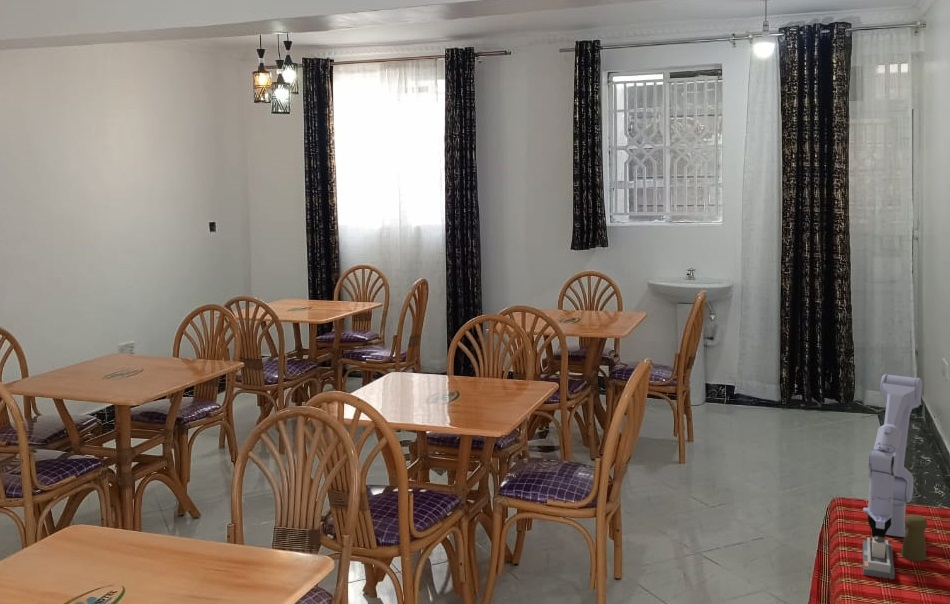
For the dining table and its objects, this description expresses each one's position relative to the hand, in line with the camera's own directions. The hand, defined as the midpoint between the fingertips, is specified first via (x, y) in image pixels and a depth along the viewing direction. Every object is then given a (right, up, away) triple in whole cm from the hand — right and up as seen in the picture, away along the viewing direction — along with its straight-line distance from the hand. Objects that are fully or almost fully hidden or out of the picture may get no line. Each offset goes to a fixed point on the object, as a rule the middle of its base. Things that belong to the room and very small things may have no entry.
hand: (877, 543), depth 227 cm
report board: (-2, -3, -5) cm, 6 cm away
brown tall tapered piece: (+8, -3, -2) cm, 9 cm away
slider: (-2, -2, -5) cm, 5 cm away
